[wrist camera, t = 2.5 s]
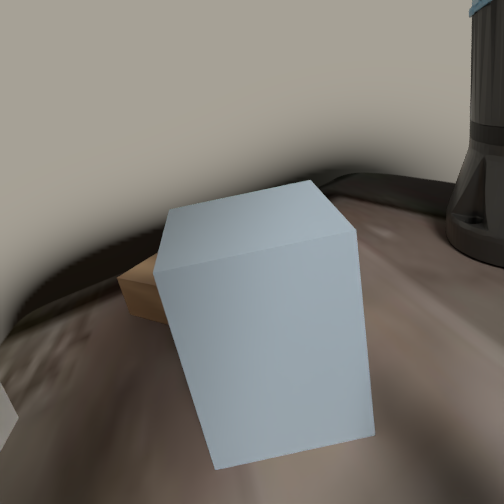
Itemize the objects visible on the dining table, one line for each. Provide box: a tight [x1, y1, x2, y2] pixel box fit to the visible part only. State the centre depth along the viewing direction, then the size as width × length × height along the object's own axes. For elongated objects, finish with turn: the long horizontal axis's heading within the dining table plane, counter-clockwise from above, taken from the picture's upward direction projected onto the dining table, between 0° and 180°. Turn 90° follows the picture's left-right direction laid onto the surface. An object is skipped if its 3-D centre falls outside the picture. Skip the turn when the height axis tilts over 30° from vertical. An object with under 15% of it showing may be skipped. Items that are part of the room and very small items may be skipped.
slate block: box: [153, 180, 375, 470], centre depth 22 cm, size 8×8×11 cm
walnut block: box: [117, 253, 169, 325], centre depth 37 cm, size 12×12×4 cm
